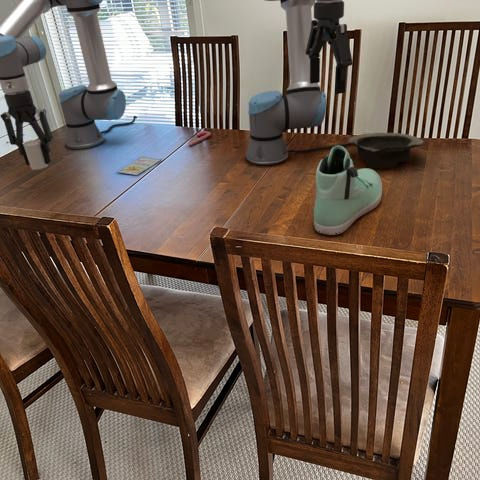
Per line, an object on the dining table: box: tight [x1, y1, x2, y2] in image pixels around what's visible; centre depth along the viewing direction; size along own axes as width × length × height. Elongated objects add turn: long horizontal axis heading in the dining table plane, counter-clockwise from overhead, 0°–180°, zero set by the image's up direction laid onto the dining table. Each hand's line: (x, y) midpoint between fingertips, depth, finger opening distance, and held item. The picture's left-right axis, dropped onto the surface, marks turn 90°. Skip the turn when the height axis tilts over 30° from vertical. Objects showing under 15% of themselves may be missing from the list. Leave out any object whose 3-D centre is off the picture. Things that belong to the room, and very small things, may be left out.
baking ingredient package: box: [117, 157, 161, 176], centre depth 177 cm, size 9×1×15 cm
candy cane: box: [188, 130, 212, 147], centre depth 198 cm, size 6×15×2 cm, turn 145°
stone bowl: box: [347, 132, 426, 170], centre depth 165 cm, size 25×25×9 cm
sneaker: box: [313, 146, 383, 236], centre depth 133 cm, size 14×35×20 cm, turn 152°
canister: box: [23, 139, 49, 171], centre depth 155 cm, size 6×6×8 cm
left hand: (38, 163), depth 157 cm, fingers closed on canister, 6 cm apart
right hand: (326, 87), depth 130 cm, fingers open, 13 cm apart
